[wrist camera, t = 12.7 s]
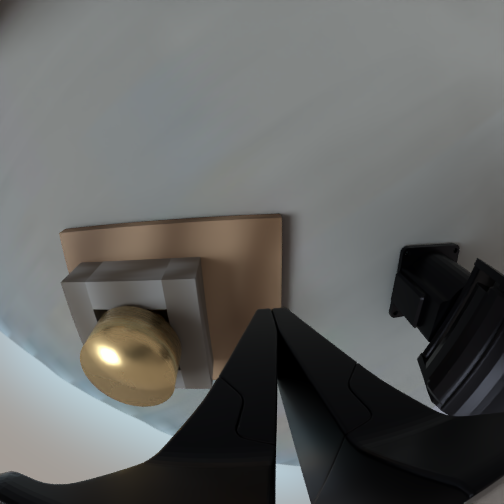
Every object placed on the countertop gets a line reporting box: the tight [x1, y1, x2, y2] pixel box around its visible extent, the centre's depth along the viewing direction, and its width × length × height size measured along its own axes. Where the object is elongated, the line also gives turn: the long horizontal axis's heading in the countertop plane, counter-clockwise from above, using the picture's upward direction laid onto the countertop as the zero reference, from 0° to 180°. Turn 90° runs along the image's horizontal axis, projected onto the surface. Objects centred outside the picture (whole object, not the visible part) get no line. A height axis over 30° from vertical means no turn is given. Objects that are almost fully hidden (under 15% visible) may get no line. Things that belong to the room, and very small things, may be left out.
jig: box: [59, 214, 282, 389], centre depth 20 cm, size 16×14×4 cm
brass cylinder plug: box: [80, 306, 182, 407], centre depth 18 cm, size 6×6×6 cm
